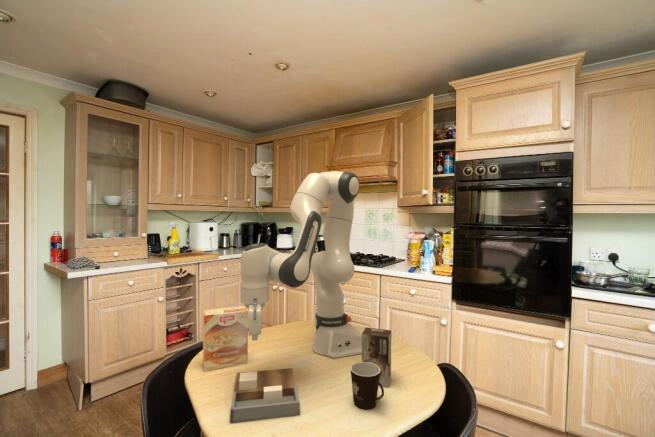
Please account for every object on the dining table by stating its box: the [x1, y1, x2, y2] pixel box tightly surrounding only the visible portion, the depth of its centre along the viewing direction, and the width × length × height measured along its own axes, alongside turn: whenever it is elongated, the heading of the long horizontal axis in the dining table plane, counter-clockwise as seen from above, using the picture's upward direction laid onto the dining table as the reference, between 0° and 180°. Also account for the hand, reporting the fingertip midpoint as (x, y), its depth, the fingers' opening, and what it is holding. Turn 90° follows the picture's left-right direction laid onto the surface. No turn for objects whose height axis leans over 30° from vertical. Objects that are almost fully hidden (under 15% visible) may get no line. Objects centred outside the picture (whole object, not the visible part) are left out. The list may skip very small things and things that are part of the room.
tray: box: [229, 385, 301, 424], centre depth 87 cm, size 18×8×4 cm, turn 102°
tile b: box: [239, 371, 257, 390], centre depth 94 cm, size 5×5×2 cm
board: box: [233, 367, 297, 401], centre depth 97 cm, size 18×12×3 cm, turn 102°
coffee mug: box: [349, 361, 385, 411], centre depth 89 cm, size 12×9×10 cm
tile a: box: [264, 385, 282, 404], centre depth 88 cm, size 5×5×2 cm
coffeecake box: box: [202, 305, 249, 372], centre depth 114 cm, size 15×7×20 cm, turn 115°
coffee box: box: [361, 327, 392, 388], centre depth 104 cm, size 9×6×16 cm
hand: (254, 338), depth 99 cm, fingers closed
